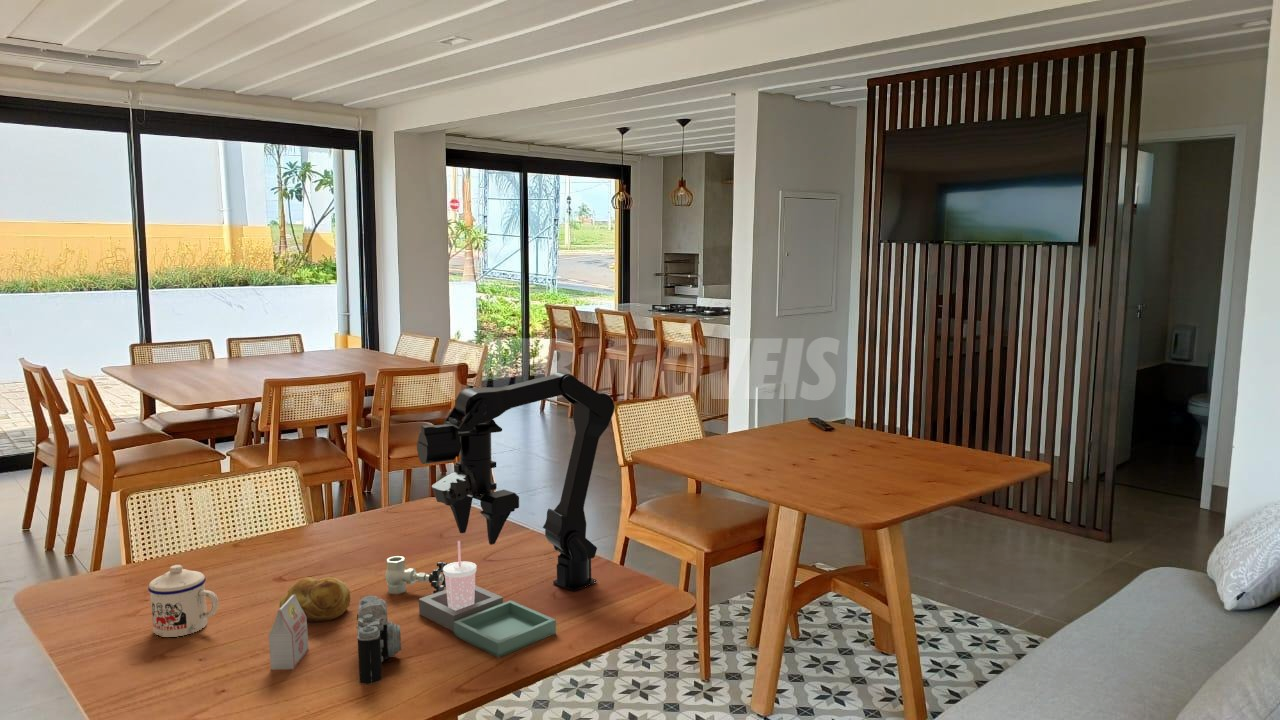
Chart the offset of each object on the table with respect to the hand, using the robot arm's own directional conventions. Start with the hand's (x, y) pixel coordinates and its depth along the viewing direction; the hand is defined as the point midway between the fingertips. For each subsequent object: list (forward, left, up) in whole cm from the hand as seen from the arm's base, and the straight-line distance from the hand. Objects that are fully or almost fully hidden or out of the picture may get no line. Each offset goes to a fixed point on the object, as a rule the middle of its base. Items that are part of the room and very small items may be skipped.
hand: (477, 538), depth 166 cm
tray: (+4, +13, -13) cm, 19 cm away
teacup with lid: (+41, -31, -14) cm, 53 cm away
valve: (+4, -15, -14) cm, 21 cm away
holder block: (+4, 0, -13) cm, 14 cm away
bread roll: (+22, -20, -14) cm, 33 cm away
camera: (+24, +6, -14) cm, 29 cm away
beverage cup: (+4, 0, -14) cm, 14 cm away
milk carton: (+34, -6, -14) cm, 37 cm away
